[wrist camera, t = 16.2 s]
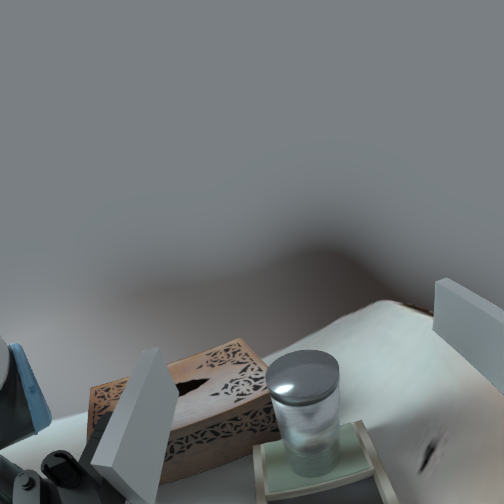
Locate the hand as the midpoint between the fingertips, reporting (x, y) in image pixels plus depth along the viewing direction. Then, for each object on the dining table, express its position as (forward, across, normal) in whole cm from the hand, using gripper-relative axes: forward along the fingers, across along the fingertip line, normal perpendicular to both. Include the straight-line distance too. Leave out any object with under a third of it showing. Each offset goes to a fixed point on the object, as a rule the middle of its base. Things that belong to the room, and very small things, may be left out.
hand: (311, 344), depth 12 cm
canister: (+9, 0, -22) cm, 24 cm away
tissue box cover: (+18, -16, -26) cm, 36 cm away
